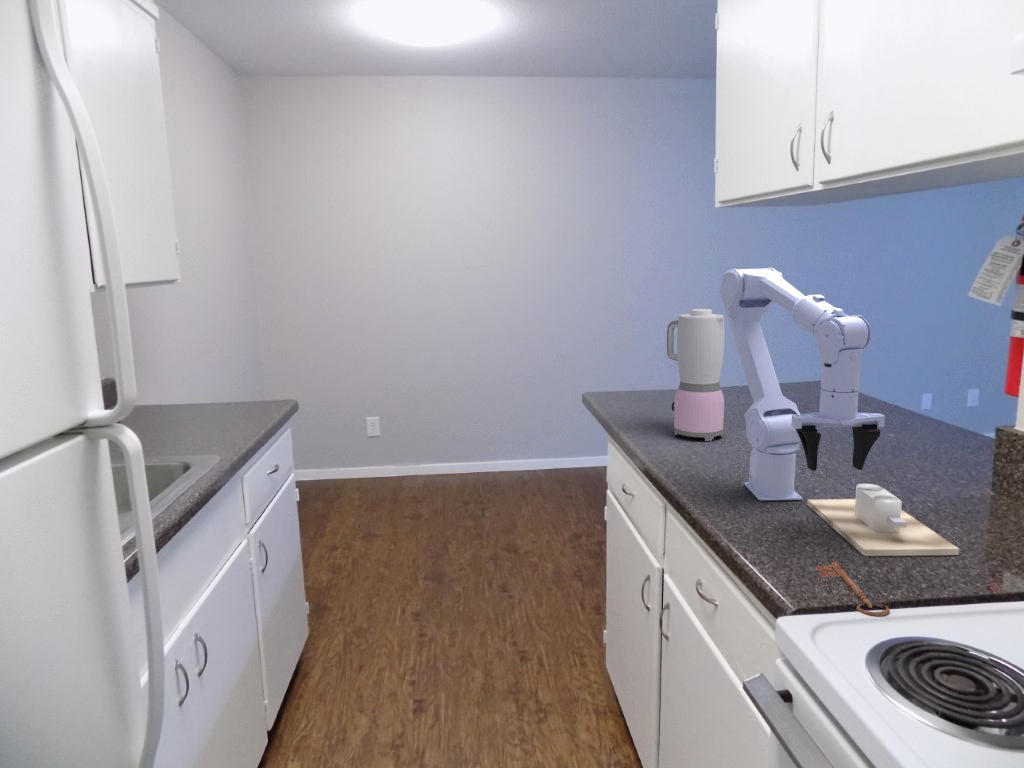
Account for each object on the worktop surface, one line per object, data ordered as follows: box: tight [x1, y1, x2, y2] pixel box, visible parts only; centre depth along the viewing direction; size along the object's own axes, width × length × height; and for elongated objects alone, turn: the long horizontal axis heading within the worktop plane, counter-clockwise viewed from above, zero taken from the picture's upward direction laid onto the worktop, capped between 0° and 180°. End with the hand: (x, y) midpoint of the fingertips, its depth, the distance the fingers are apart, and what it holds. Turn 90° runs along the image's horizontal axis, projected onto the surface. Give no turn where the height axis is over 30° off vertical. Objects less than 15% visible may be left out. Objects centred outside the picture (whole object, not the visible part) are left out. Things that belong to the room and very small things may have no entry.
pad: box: [806, 498, 960, 557], centre depth 115 cm, size 22×14×1 cm, turn 178°
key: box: [815, 561, 890, 617], centre depth 94 cm, size 6×1×15 cm
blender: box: [666, 308, 726, 440], centre depth 173 cm, size 16×12×32 cm
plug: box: [855, 483, 907, 534], centre depth 113 cm, size 12×4×5 cm, turn 178°
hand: (834, 468), depth 116 cm, fingers open, 7 cm apart
